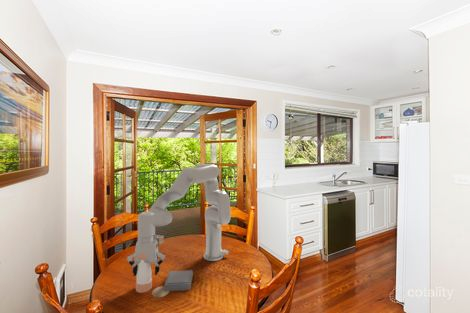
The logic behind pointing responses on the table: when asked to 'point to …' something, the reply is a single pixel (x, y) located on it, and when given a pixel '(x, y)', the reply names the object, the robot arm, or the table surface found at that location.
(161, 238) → the grey cube
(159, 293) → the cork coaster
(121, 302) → the table surface
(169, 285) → the slate stand
